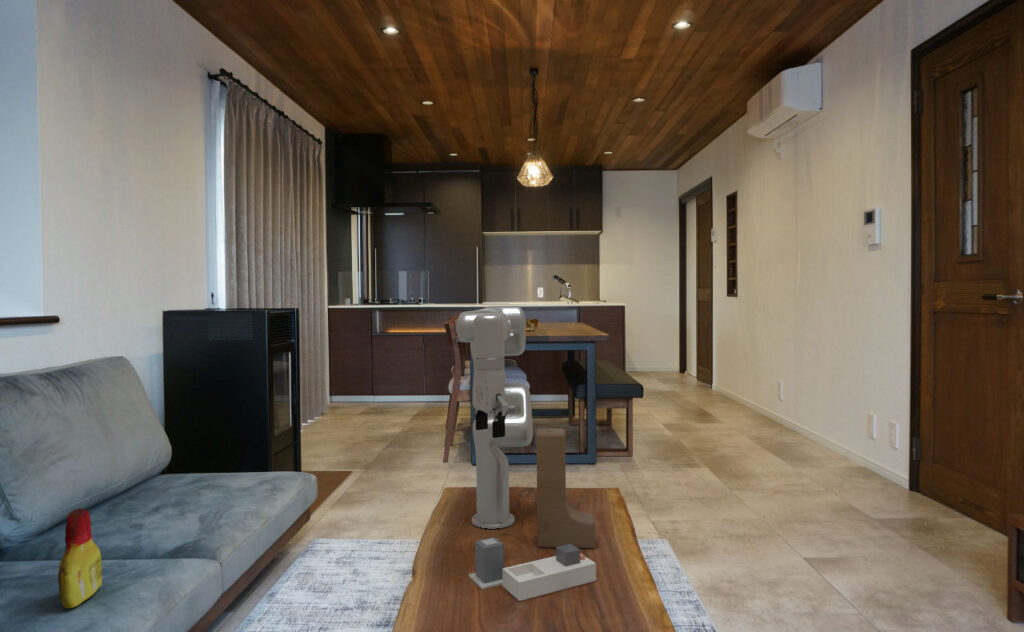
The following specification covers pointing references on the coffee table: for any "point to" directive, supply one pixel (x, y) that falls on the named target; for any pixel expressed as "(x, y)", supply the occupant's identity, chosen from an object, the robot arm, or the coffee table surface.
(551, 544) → the decorative block
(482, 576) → the block
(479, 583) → the felt pad
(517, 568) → the power strip
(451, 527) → the coffee table surface
